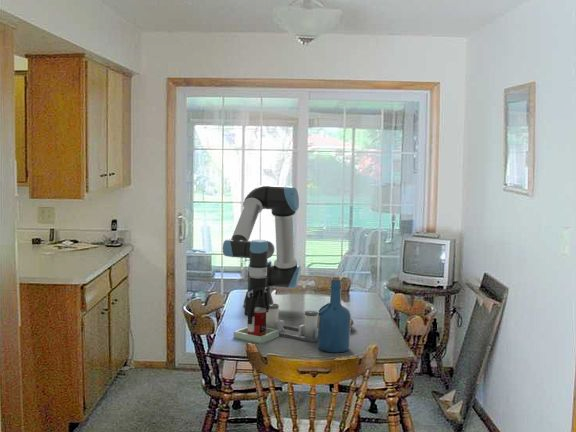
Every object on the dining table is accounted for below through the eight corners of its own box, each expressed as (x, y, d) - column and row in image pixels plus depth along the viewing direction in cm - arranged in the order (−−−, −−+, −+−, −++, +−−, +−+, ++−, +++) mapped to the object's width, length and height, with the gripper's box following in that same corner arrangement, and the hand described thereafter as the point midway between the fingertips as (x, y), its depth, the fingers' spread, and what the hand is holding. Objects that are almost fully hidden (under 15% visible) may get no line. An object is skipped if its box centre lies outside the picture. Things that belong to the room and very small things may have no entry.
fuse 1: (263, 329, 307) (263, 305, 306) (269, 326, 312) (270, 302, 311) (274, 331, 304) (274, 307, 303) (280, 328, 309) (280, 304, 308)
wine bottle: (347, 344, 289) (350, 273, 285) (351, 354, 275) (354, 280, 272) (315, 343, 288) (317, 273, 285) (317, 353, 275) (320, 279, 272)
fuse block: (253, 330, 306) (253, 320, 305) (269, 324, 317) (269, 314, 316) (313, 342, 289) (314, 332, 289) (329, 336, 300) (329, 326, 300)
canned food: (263, 337, 290) (264, 311, 289) (245, 335, 292) (245, 310, 290) (267, 332, 297) (268, 307, 296) (249, 331, 299) (250, 306, 298)
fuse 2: (301, 337, 297) (302, 312, 296) (308, 334, 302) (308, 309, 300) (312, 339, 294) (313, 314, 293) (319, 336, 299) (320, 311, 297)
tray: (233, 338, 292) (233, 331, 292) (252, 331, 304) (252, 324, 304) (260, 344, 285) (260, 337, 285) (278, 336, 297) (279, 330, 297)
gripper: (251, 281, 281) (249, 335, 284) (278, 274, 299) (277, 325, 301) (236, 279, 285) (235, 332, 288) (264, 272, 303) (262, 322, 305)
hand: (256, 329), depth 294 cm, fingers open, 8 cm apart
